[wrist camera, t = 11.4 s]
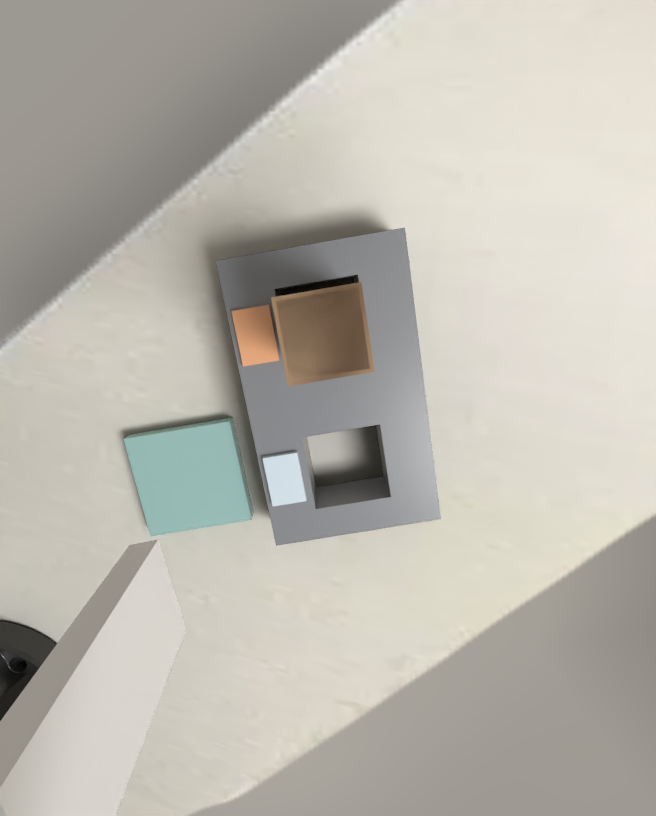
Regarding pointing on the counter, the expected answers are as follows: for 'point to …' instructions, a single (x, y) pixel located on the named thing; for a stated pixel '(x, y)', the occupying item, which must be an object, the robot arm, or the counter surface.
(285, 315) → the plug
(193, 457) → the plate
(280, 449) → the port box
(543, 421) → the counter surface
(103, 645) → the robot arm
